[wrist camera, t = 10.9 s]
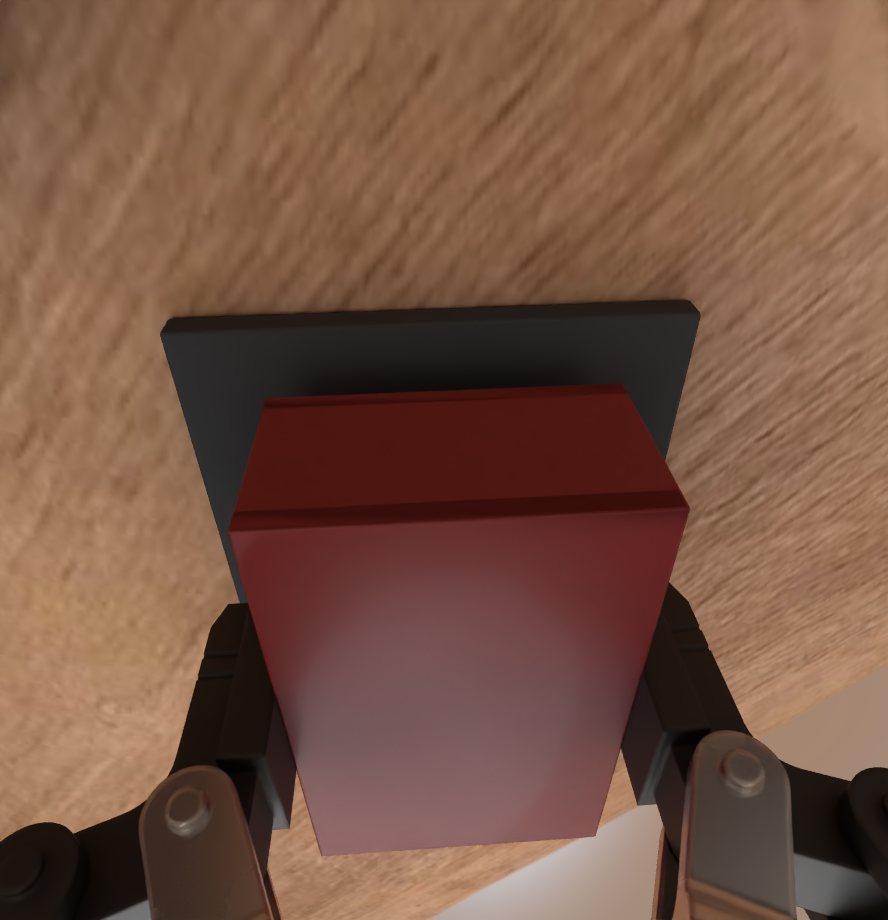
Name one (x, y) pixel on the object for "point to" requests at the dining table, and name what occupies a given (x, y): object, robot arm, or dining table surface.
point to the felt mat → (413, 366)
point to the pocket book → (455, 604)
